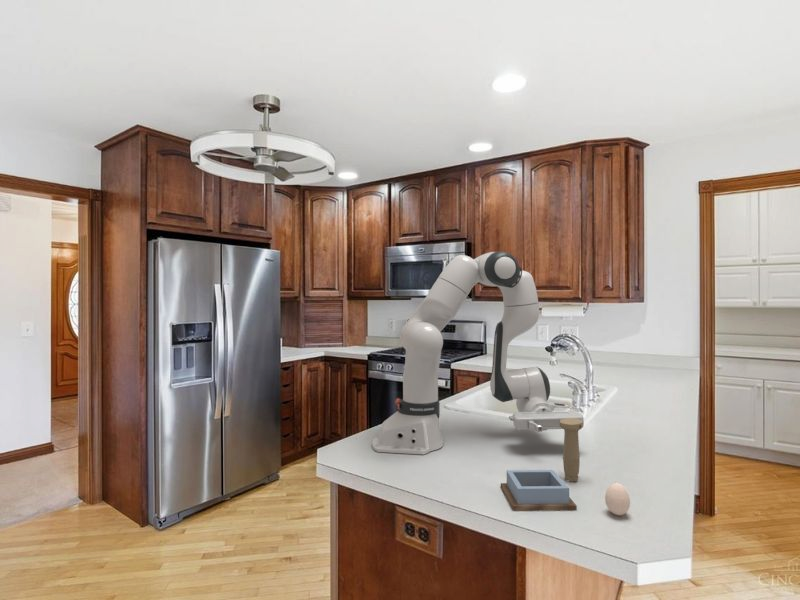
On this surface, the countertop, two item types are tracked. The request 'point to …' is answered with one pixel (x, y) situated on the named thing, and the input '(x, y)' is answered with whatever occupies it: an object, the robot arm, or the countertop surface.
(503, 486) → the board
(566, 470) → the handle
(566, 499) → the square frame
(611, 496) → the egg
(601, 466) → the countertop surface
